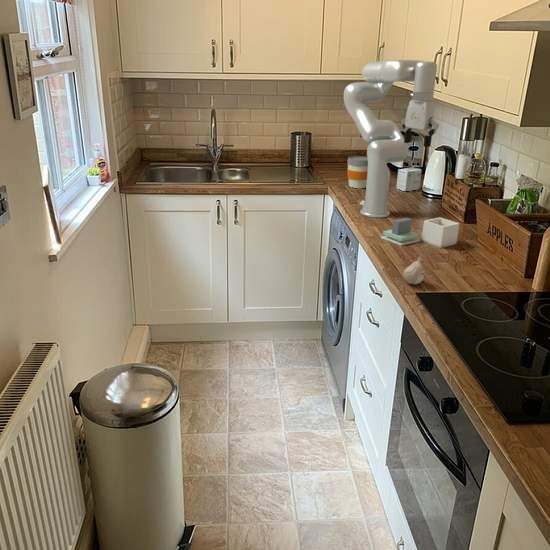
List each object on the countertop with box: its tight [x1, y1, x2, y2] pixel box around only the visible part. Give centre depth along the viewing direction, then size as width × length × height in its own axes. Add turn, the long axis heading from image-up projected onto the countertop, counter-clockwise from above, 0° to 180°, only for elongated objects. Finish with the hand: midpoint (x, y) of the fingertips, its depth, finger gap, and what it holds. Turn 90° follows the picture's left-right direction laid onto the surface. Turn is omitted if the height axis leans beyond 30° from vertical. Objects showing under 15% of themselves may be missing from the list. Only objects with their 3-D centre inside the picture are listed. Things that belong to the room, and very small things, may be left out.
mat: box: [380, 235, 421, 246], centre depth 211 cm, size 10×10×1 cm
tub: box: [420, 217, 460, 249], centre depth 207 cm, size 9×9×8 cm
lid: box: [382, 217, 420, 242], centre depth 209 cm, size 9×9×7 cm
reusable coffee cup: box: [346, 155, 368, 188], centre depth 286 cm, size 13×13×15 cm
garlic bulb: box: [402, 255, 425, 285], centre depth 170 cm, size 7×6×8 cm
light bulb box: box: [395, 167, 422, 192], centre depth 284 cm, size 11×7×11 cm, turn 124°
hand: (416, 144), depth 211 cm, fingers open, 9 cm apart
